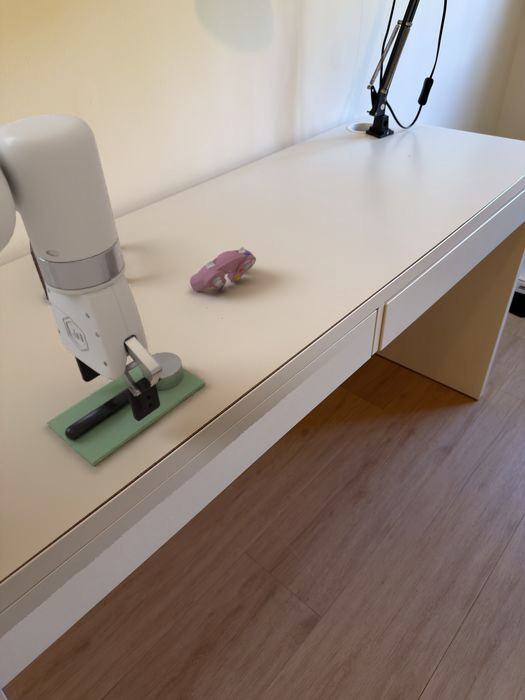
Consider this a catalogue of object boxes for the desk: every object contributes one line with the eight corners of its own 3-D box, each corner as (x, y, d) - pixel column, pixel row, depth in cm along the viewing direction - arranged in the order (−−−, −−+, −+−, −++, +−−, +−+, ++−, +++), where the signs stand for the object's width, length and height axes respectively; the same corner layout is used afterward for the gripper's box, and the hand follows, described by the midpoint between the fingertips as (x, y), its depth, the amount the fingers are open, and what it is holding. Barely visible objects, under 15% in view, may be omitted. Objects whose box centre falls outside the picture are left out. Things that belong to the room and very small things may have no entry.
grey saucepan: (80, 453, 55) (75, 440, 54) (56, 431, 58) (51, 418, 57) (191, 375, 64) (189, 362, 63) (166, 359, 67) (163, 347, 66)
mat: (93, 466, 55) (92, 463, 54) (47, 425, 59) (46, 422, 59) (205, 385, 64) (204, 381, 63) (157, 355, 68) (157, 352, 68)
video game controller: (203, 306, 79) (211, 278, 74) (186, 285, 81) (192, 255, 75) (253, 282, 84) (264, 254, 78) (236, 261, 85) (246, 232, 80)
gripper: (-1, 248, 52) (51, 378, 62) (102, 311, 42) (142, 451, 53) (66, 221, 56) (104, 347, 67) (173, 273, 46) (196, 409, 57)
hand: (120, 393), depth 60 cm, fingers open, 9 cm apart
